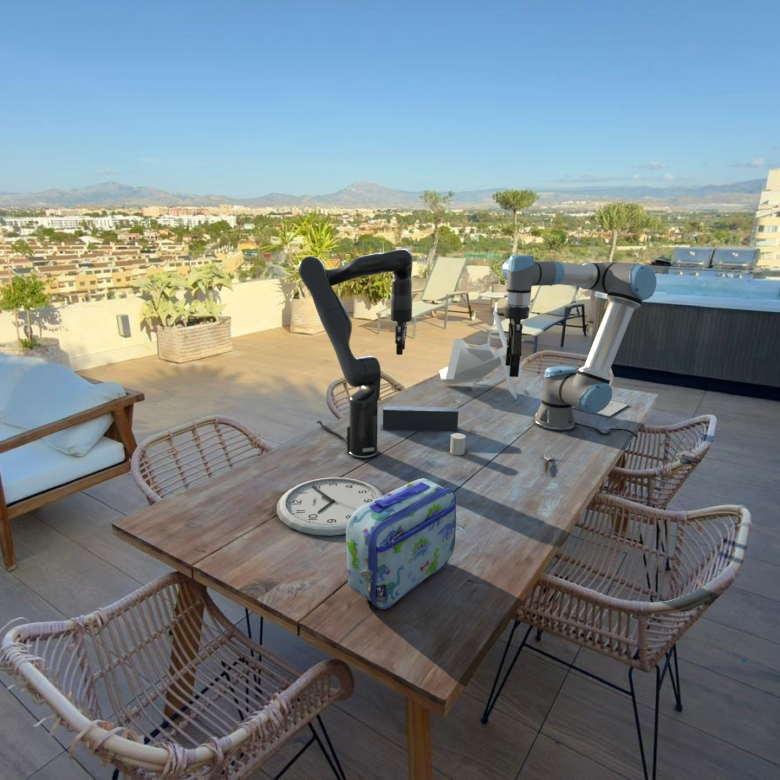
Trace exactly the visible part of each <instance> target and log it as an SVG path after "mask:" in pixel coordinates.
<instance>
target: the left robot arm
mask: <svg viewBox="0 0 780 780" xmlns="http://www.w3.org/2000/svg"><path fill="white" fill-rule="evenodd" d="M413 259H414V257H413V254H412V252H410V250H408V249H407V248H399V249H395V250H392V251H387V252H377V253H371V254H366V255H361V256H357V257H356V258H354V259H352V260H350V261H349V262H347V263H345V264H344V265H341V266H340V267H336V268H327V269H326V267H325V264H324V263H323V262H322V261H321V259H319V258H318V257H315V256H312V255H310V256H306V257H304V258H302V259H301V260H300V262H299V264H298V267H297V272H298V276H299V278H300V279H301V281H302V283H303V285H304V287H306V289H308V291H309V293H310V295H311V298H312V300H313V304H314V307H315V309H316V313H317V316H318V317H319V320H320V322H321V325H322V327H323V329H324V331H325V332H326V335H327V336H328V338H329V341H330V343H331V346H332V348H333V350H334V352H335V354H336V355H335V356H336V357H337V360H338V363H339V366H340V368H341V371H342V375H343V377H344V379H345V381H346V383H347V384H348V385H349V386H350V387H351V388H358V390H357V391H355V392H354V393H352V394H351V395H350V396H349V400H348V402H349V403H348V404H349V425H348V426H347V427H346V436H345V437H343V436H341V434H339V433H338V432H337V431H336V432H335V431H333V430H332V429H329V428H328V427H326V426H325V425H324V424H323V422H322V421H321V420H318V421H316V424H319V425H320V427H321V428H322V429H324V430H325V431H327V432H328V433H330V434H333V435H335V436H336V437H338V438H339V439H340V440H342V441H344V442H345V443H346V450H347V451H346V452H347V454H349V455H350V456H351V457H352V458H354V459H361V460H364V459H371V458H374V457H376V456H377V455H378V424H379V423H378V419H379V418H378V417H379V416H378V415H379V414H378V413H379V411H378V409H379V405H378V404H379V400H380V393H381V380H382V377H381V376H382V369H381V364H380V361H379V359H378V358H377V357H375V356H374V355H365V356H360V357H359V356H358V357H356V356H355V355H354V354H353V351H352V350H351V345H350V342H351V337H352V331H353V322H352V319H351V317H350V315H349V313H348V311H347V309H346V307H345V306H344V304H343V302H342V301H341V299H340V297H339V296H338V294H337V293H336V291H335V290H334V289H333V286H336V285H337V286H338V285H340V284H342V283H345V282H348V281H352V280H355V279H359V278H364V277H365V278H366V277H371V276H375V275H380V274H385V273H392V281H391V297H390V321H392V322H396V325H395V326H394V331H395V333H394V334H395V335H394V339H395V341H394V343H395V346H396V349H395V351H396V355H397V356H402V355H403V353H404V351H403V350H405V348H406V339H407V333H408V325H407V323H408V322H411V321H412V319H413V294H412V293H413V282H412V275H413V274H412V273H413ZM359 387H360V388H359Z"/></svg>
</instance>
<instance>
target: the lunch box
mask: <svg viewBox="0 0 780 780" xmlns="http://www.w3.org/2000/svg"><path fill="white" fill-rule="evenodd" d="M456 498H457V496H456V493H455V491H454V489H452V488H450V487H443V486H441V485H439V484H438V483H436V482H433V481H432V480H430V479H427V478H423V477H422V478H418V479H416V480H413V481H411V482H409V483H406V484H405V485H402V486H400V487H398V488H396V489H394V490H392V491H390V492H388V493H386V494H384V496H382V497H380V498H378V499H376V500H374V501H372V502H370V503H368V504H366V505H364V506H362V507H360V508H358V509H357V510H356V511H355V512H354V513H353V514H352V515H351V517H350V519H349V521H348V524H347V528H346V534H345V547H346V549H345V550H346V572H347V573H346V575H347V584H348V587H349V589H350V590H351V591H353V592H355V593H357V594H358V595H361V596H363V597H364V598H365V599H367V600H368V601H369V602H371V604H372V605H373V606H374V607H376V608H377V609H380V610H386V609H389V608H391V607H393V605H395V603H397V602H398V601H399V600H400V599H402V598H403V597H404V596H405V595H408V593H410V592H411V591H412V590H413V589H415V588H416V587H417V586H419V585H420V584H421V583H423V581H424V580H425V579H427V578H428V577H430V576H431V575H433V574H435V573H437V572H438V571H439V570H441V569H442V568H443V567H444V566H446V564H447V563H448V562H449V560H450V559H451V556H452V555H453V552H454V548H455V544H456V531H457V530H456V529H457V499H456Z"/></svg>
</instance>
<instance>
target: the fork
mask: <svg viewBox="0 0 780 780" xmlns="http://www.w3.org/2000/svg"><path fill="white" fill-rule="evenodd" d="M553 451H554V450H553V448H552V451H551V449H549V451H547V450H545V452H544V455H543V459H545V460H546V461H545V463H544V473H547V470H548V468H549V461H551V460H553Z"/></svg>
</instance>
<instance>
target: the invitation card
mask: <svg viewBox="0 0 780 780" xmlns="http://www.w3.org/2000/svg"><path fill="white" fill-rule="evenodd" d="M628 406H629V404H627V403H623V402H618V401H614V400H610V402H609V404H608V405H607V406H606V407H605V408H604V409H603V410H601V411H600V412H597V413H595V414H596V415H600V416H604V417H608V418H609V417H611V416H613V415H614V414H616V413H617V412H619V411H621V410H623V409H624V408H626V407H628ZM573 409H575V410H579V409H578V408H576V407H573Z"/></svg>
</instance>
